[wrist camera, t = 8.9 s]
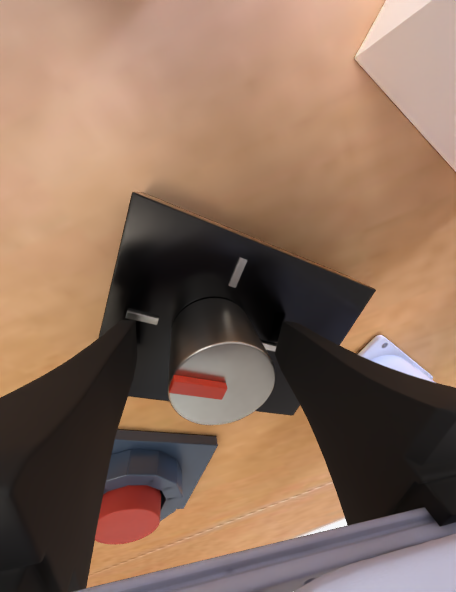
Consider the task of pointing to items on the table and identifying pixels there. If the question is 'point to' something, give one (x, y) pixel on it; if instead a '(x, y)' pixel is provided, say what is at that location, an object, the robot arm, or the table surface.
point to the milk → (417, 66)
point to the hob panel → (218, 289)
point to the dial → (217, 364)
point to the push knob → (128, 514)
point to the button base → (160, 464)
